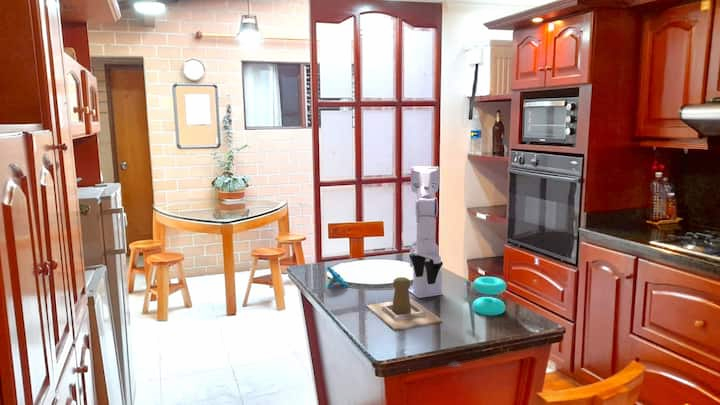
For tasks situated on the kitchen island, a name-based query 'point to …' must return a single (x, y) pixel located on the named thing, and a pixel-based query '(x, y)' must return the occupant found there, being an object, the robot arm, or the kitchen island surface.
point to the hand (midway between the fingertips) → (425, 280)
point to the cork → (401, 296)
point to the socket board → (404, 315)
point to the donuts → (489, 303)
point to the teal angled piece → (335, 278)
